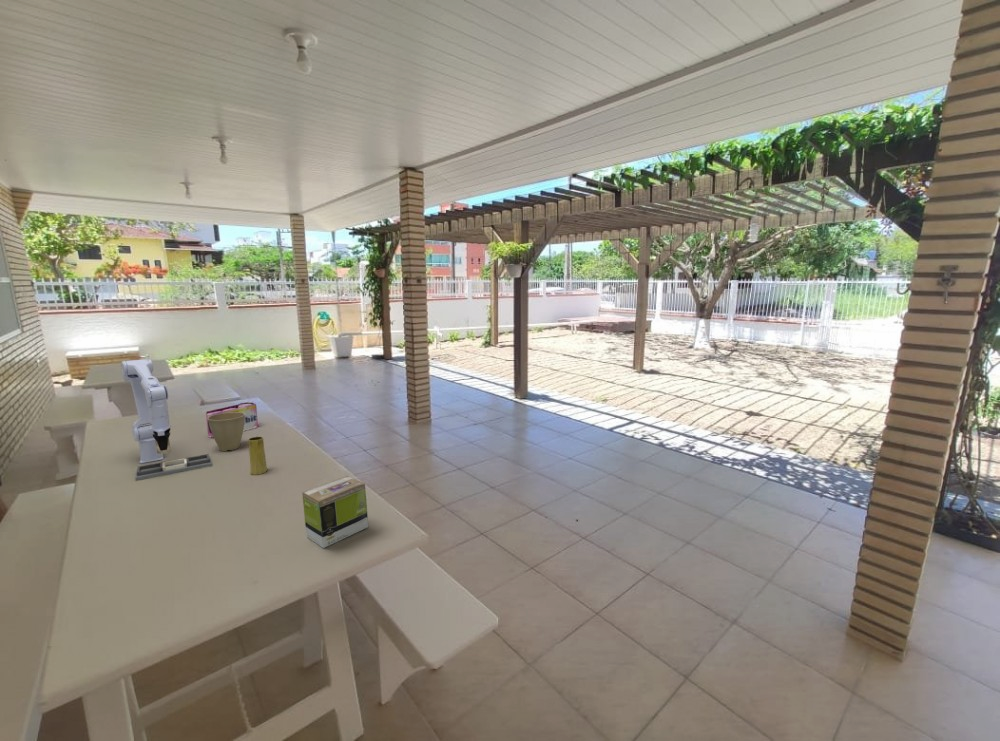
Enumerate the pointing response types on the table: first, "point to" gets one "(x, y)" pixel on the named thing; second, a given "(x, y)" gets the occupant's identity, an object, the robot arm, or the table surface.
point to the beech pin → (163, 450)
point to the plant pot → (227, 429)
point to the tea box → (335, 510)
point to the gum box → (245, 408)
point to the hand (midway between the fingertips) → (163, 448)
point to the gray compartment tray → (172, 466)
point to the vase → (257, 455)
